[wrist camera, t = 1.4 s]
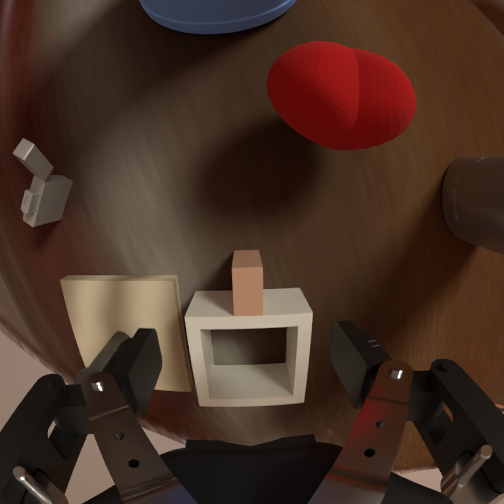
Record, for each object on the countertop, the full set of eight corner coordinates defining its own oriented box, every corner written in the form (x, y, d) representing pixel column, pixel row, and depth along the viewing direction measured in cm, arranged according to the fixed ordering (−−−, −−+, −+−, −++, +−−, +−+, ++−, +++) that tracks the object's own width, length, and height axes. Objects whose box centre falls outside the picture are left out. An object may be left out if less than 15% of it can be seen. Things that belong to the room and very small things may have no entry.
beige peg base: (177, 275, 23) (137, 331, 13) (193, 382, 26) (177, 456, 16) (68, 275, 23) (4, 315, 13) (95, 372, 25) (58, 428, 16)
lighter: (60, 220, 21) (5, 236, 14) (49, 213, 21) (-6, 226, 13) (84, 151, 20) (28, 143, 12) (72, 145, 20) (17, 136, 12)
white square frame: (300, 248, 23) (315, 264, 18) (294, 369, 26) (303, 402, 21) (192, 251, 22) (179, 269, 18) (205, 372, 25) (199, 406, 20)
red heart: (365, 92, 20) (427, 51, 10) (365, 165, 21) (437, 157, 11) (261, 75, 19) (274, 8, 9) (257, 153, 21) (268, 125, 11)
